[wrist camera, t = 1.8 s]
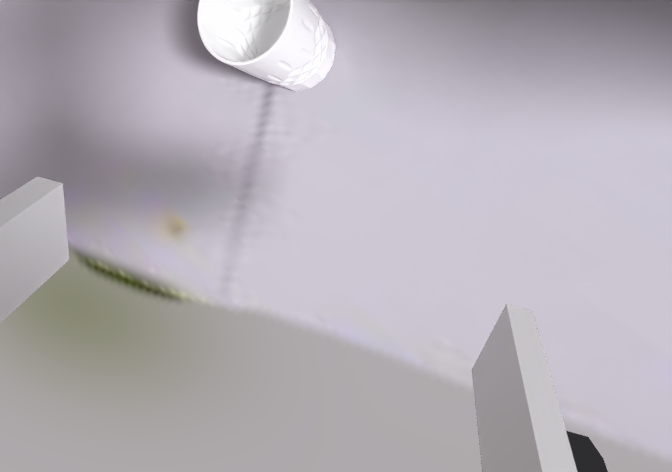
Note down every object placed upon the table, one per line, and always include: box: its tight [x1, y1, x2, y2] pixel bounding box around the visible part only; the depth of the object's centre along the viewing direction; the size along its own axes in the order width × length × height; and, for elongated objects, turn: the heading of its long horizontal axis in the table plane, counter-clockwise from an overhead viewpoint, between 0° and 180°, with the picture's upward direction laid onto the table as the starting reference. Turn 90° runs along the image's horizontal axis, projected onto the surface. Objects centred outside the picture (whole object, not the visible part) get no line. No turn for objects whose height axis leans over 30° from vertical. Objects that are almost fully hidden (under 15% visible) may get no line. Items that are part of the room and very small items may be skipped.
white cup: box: [197, 0, 336, 91], centre depth 41 cm, size 8×8×10 cm
